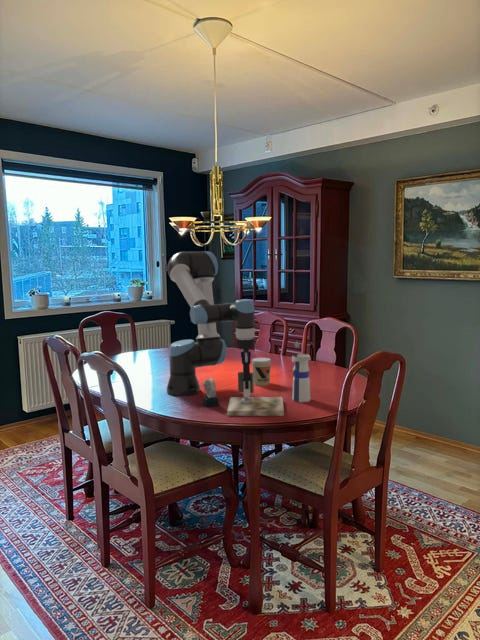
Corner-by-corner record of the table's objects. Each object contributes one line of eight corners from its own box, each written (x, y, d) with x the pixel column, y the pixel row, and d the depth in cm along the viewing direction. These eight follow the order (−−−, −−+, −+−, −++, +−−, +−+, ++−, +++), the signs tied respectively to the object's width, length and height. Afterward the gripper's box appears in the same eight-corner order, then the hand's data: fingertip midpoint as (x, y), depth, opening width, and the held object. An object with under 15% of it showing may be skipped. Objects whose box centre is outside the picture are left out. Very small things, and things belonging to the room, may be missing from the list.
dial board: (227, 415, 188) (227, 410, 188) (230, 401, 206) (230, 396, 206) (283, 415, 187) (283, 410, 187) (282, 401, 205) (282, 396, 205)
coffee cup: (255, 387, 228) (255, 362, 227) (249, 382, 237) (249, 358, 236) (274, 385, 231) (273, 360, 229) (267, 380, 240) (267, 356, 238)
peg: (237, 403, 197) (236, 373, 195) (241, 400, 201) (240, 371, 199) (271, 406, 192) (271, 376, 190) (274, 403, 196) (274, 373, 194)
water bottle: (286, 399, 207) (286, 342, 204) (299, 395, 213) (299, 339, 210) (302, 403, 202) (302, 344, 198) (314, 399, 208) (314, 341, 204)
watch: (214, 401, 207) (213, 376, 206) (220, 406, 200) (219, 380, 198) (201, 402, 205) (201, 377, 204) (207, 408, 198) (206, 382, 196)
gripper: (255, 341, 186) (257, 400, 189) (253, 334, 202) (255, 389, 205) (236, 341, 186) (237, 401, 189) (236, 335, 202) (237, 390, 205)
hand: (246, 394), depth 197 cm, fingers closed on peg, 3 cm apart
